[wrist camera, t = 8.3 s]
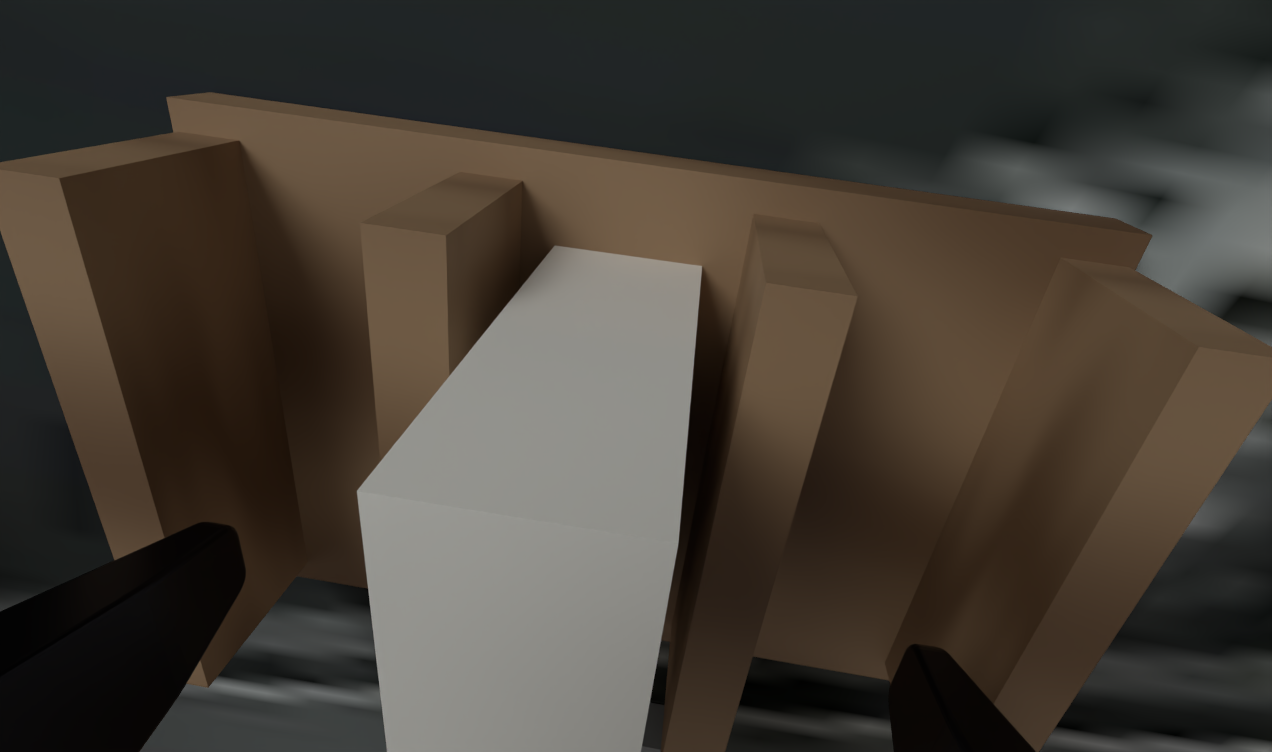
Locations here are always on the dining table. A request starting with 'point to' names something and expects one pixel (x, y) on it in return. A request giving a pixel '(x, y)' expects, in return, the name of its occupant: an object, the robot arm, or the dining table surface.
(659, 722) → the rails
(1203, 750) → the dining table surface
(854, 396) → the rack
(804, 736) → the dining table surface
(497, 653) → the upright white panel
